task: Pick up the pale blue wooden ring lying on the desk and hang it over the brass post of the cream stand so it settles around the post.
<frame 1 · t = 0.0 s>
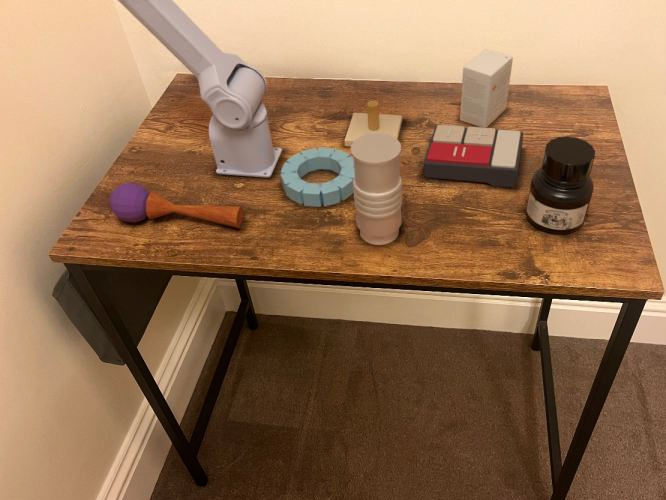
peg stand: (374, 133, 111), on the table
ink bottle: (554, 217, 95), on the table
ribbed beige cylinder: (379, 232, 93), on the table
small box: (482, 116, 114), on the table
button keypad: (473, 164, 104), on the table
ring: (320, 182, 102), on the table
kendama: (180, 221, 96), on the table
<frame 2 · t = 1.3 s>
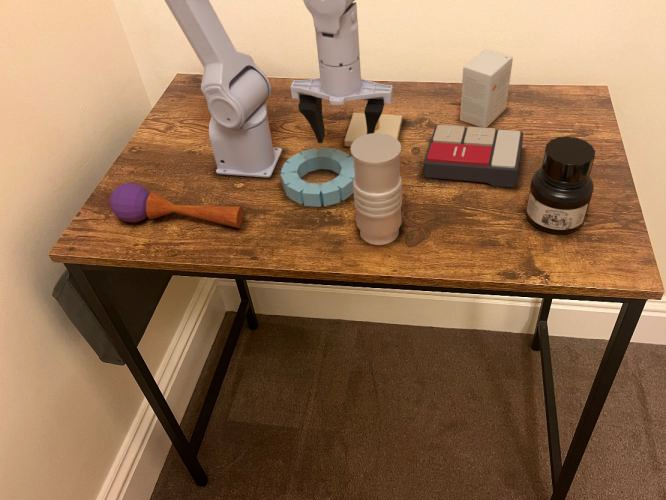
hand: (345, 140, 95), 8 cm above the table, tool pointing down, fingers open, 7 cm apart
nothing on the table moved.
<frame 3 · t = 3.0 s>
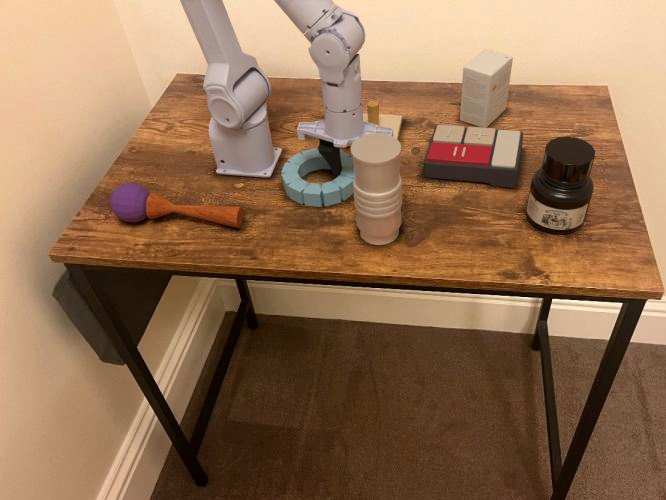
hand: (348, 177, 100), 1 cm above the table, tool pointing down, fingers closed on ring, 3 cm apart
ring: (321, 182, 102), on the table, touching gripper
everything else where it was.
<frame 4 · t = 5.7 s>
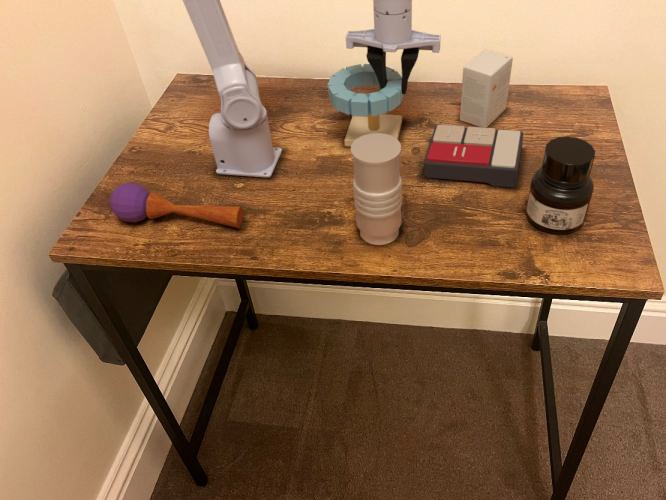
hand: (393, 90, 102), 10 cm above the table, tool pointing down, fingers closed on ring, 3 cm apart
ring: (366, 96, 103), point 8 cm above the table, touching gripper
everything else where it was.
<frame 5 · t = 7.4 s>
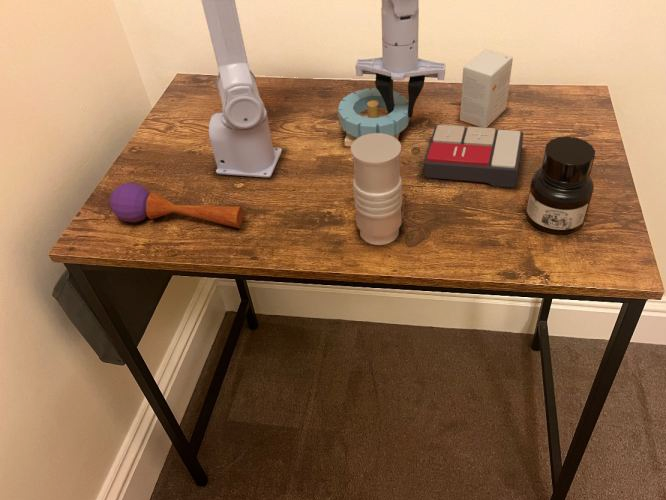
hand: (400, 114, 107), 4 cm above the table, tool pointing down, fingers closed on ring, 3 cm apart
ring: (374, 119, 109), point 3 cm above the table, touching gripper
everything else where it was.
when the fingers open (3 cm above the table, at t = 8.5 s): ring stays where it is, resting on peg stand.
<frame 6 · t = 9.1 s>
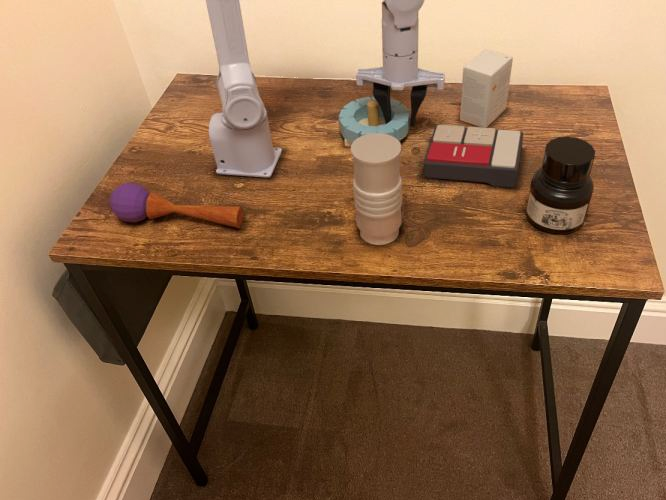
hand: (400, 122, 108), 3 cm above the table, tool pointing down, fingers open, 4 cm apart
ring: (374, 127, 110), point 1 cm above the table, touching peg stand
everything else where it was.
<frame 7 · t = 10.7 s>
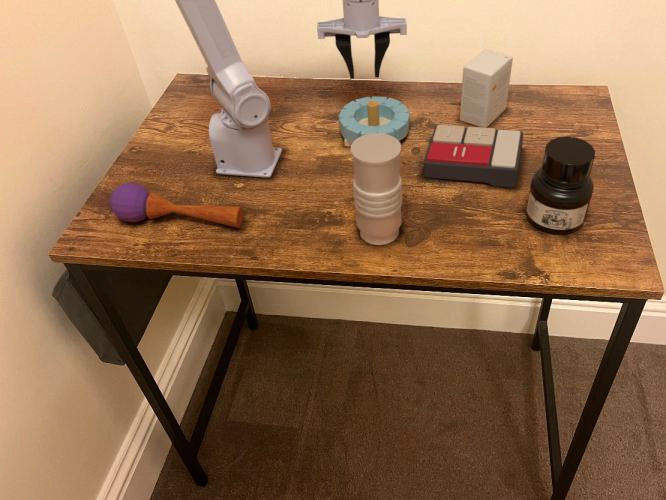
hand: (364, 75, 107), 9 cm above the table, tool pointing down, fingers open, 4 cm apart
nothing on the table moved.
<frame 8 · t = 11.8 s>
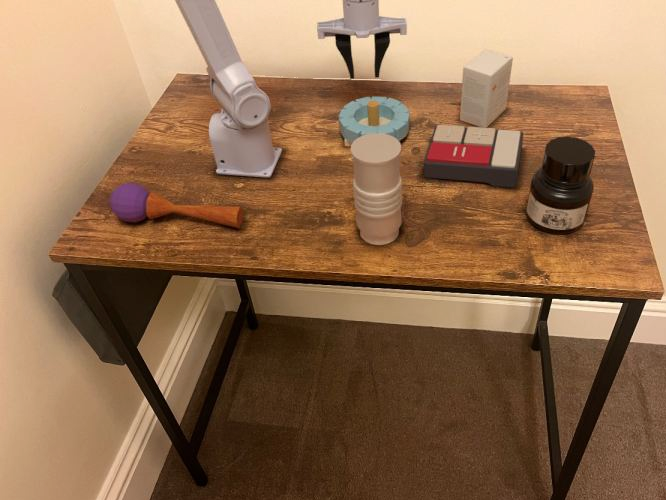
hand: (364, 75, 107), 9 cm above the table, tool pointing down, fingers open, 4 cm apart
nothing on the table moved.
at the end: ring 0.2 cm off-centre on the peg stand, point 1.2 cm above the peg stand's base; the gripper is holding nothing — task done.
